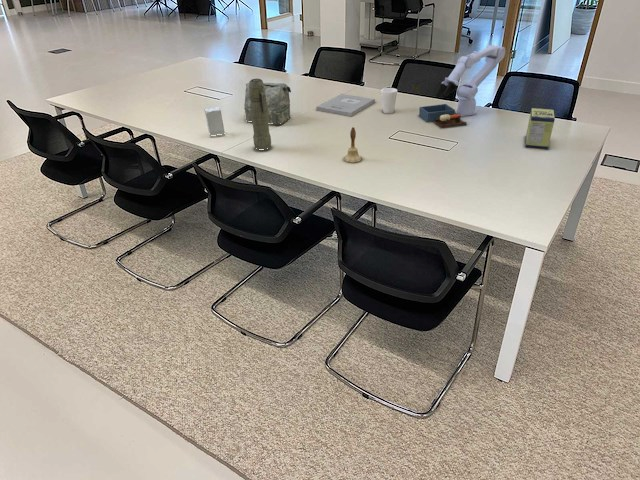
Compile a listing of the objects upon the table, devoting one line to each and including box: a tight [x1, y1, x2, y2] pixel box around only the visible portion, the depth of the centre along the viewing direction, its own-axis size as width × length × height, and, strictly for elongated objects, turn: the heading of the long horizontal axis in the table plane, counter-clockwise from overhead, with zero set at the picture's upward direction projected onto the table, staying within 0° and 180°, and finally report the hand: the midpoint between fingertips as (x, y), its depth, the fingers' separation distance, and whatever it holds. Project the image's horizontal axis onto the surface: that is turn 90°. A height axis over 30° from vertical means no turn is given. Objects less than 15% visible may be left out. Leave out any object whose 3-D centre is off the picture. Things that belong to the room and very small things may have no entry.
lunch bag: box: [243, 81, 292, 126], centre depth 284 cm, size 26×18×22 cm
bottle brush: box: [440, 113, 462, 121], centre depth 272 cm, size 12×3×3 cm, turn 104°
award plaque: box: [315, 93, 376, 117], centre depth 306 cm, size 25×30×2 cm
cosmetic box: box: [204, 106, 226, 139], centre depth 268 cm, size 8×6×15 cm
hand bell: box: [343, 126, 362, 164], centre depth 234 cm, size 8×8×16 cm
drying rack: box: [433, 113, 468, 129], centre depth 273 cm, size 15×9×5 cm, turn 104°
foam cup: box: [380, 87, 398, 114], centre depth 291 cm, size 10×9×13 cm
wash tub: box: [418, 103, 456, 123], centre depth 283 cm, size 17×12×5 cm
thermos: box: [248, 78, 272, 152], centre depth 244 cm, size 9×12×35 cm
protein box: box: [525, 107, 555, 150], centre depth 243 cm, size 10×16×16 cm
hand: (441, 95), depth 270 cm, fingers open, 7 cm apart
